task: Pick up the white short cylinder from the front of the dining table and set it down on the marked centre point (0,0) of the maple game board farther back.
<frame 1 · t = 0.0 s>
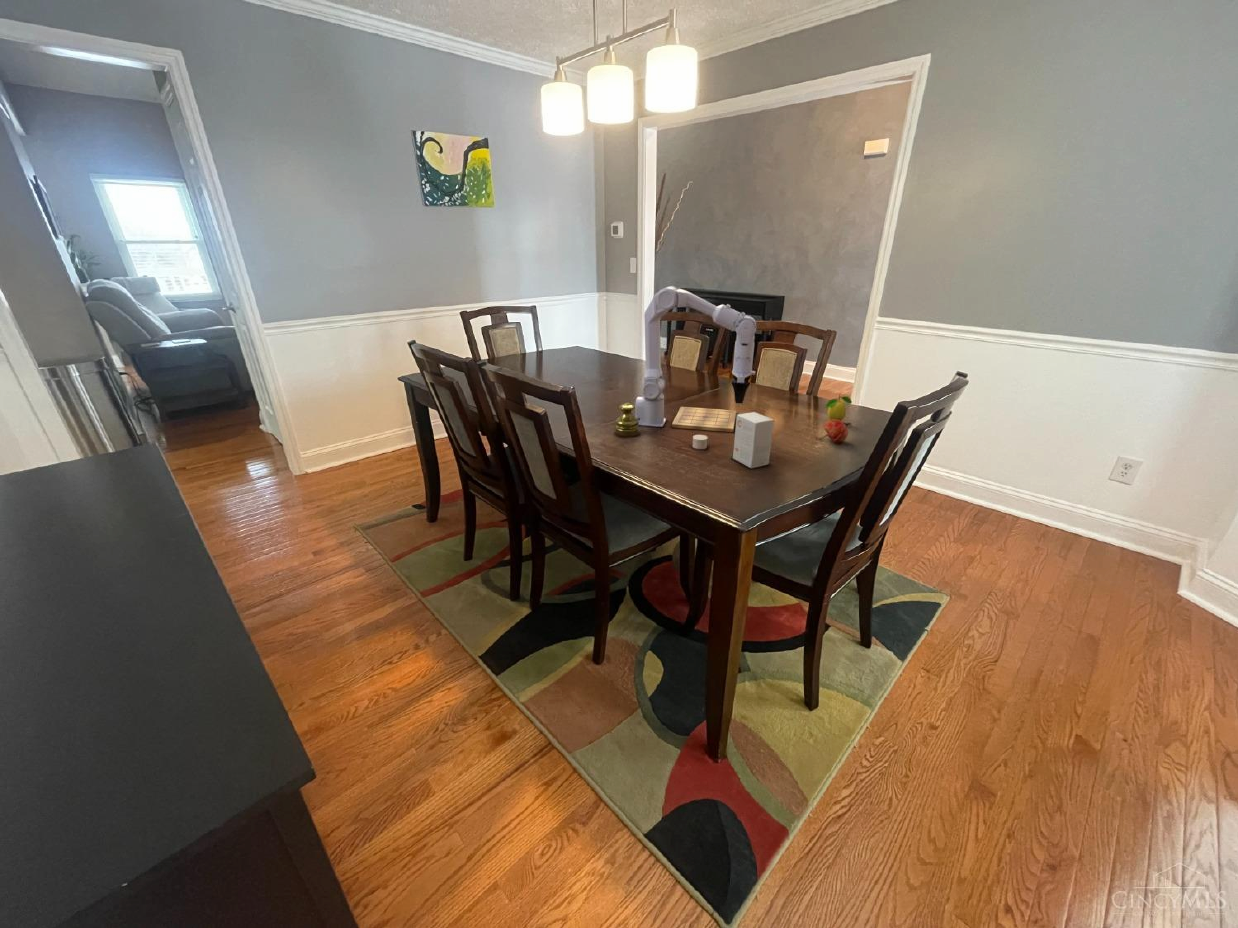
hand: (739, 399, 157), 10 cm above the table, tool pointing down, fingers open, 7 cm apart
gold chess pawn: (627, 433, 158), on the table
small box: (750, 462, 137), on the table
white short cylinder: (699, 446, 147), on the table
yellow pear: (835, 423, 166), on the table
board: (705, 420, 170), on the table
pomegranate: (832, 442, 150), on the table
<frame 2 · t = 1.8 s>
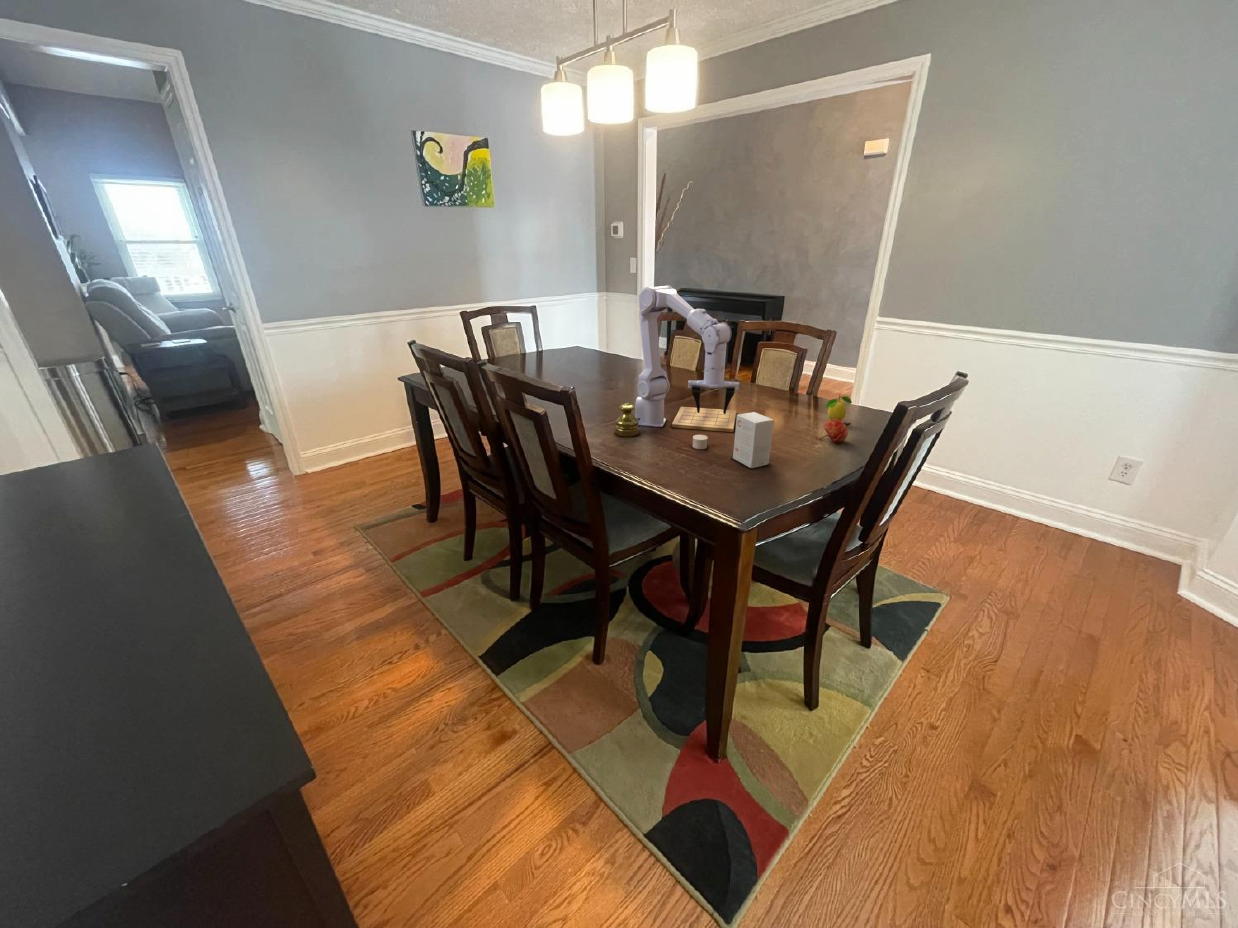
hand: (711, 412, 147), 10 cm above the table, tool pointing down, fingers open, 7 cm apart
nothing on the table moved.
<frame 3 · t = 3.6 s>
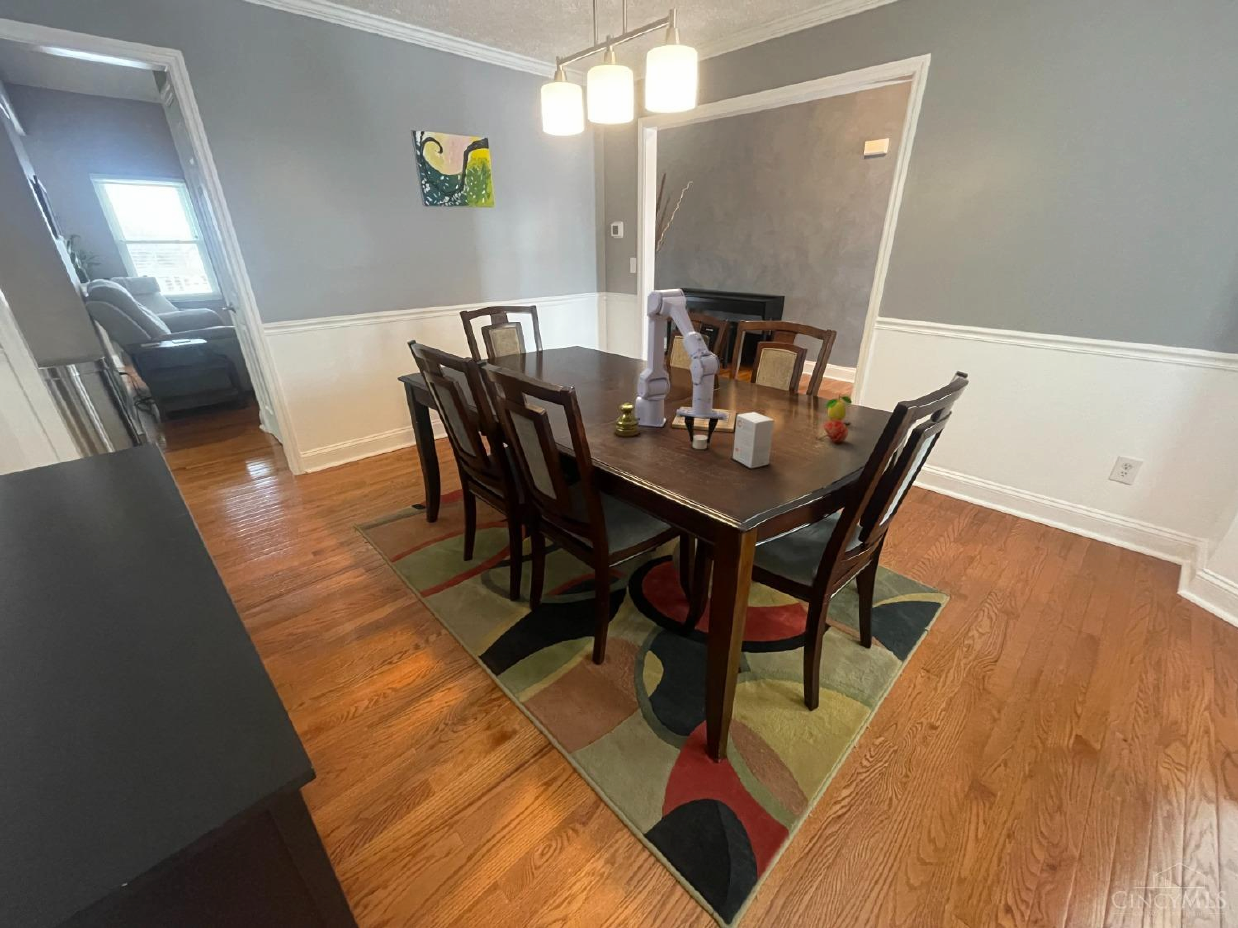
hand: (700, 441, 147), 2 cm above the table, tool pointing down, fingers closed on white short cylinder, 4 cm apart
white short cylinder: (699, 446, 147), on the table, touching gripper
everything else where it was.
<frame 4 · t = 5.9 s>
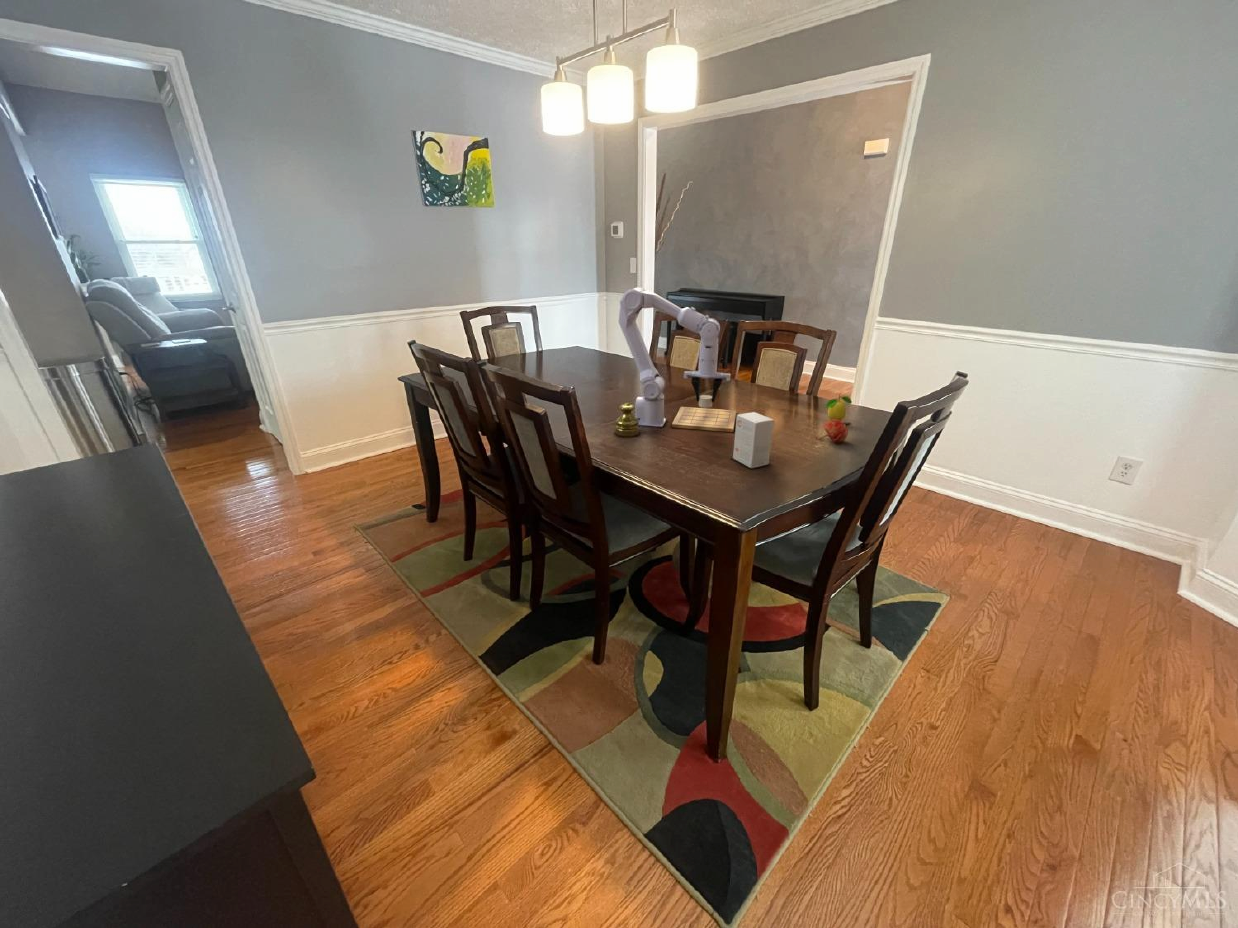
hand: (705, 401, 160), 9 cm above the table, tool pointing down, fingers closed on white short cylinder, 4 cm apart
white short cylinder: (705, 405, 160), point 7 cm above the table, touching gripper
everything else where it was.
when the fingers open (3 cm above the table, at t = 8.3 s): white short cylinder stays where it is, resting on board.
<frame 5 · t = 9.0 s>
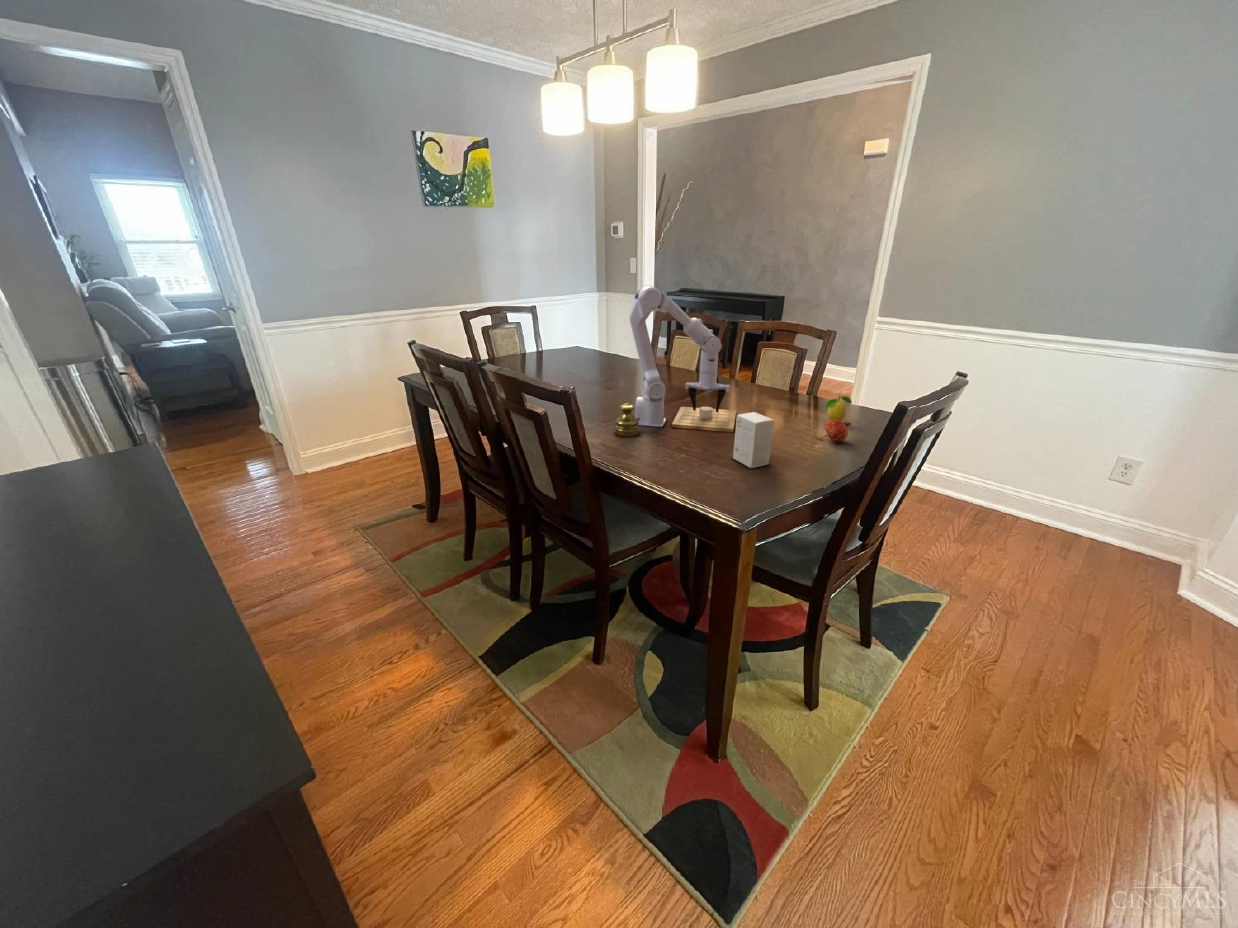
hand: (705, 410, 168), 3 cm above the table, tool pointing down, fingers open, 7 cm apart
white short cylinder: (705, 416, 169), point 1 cm above the table, touching board
everything else where it was.
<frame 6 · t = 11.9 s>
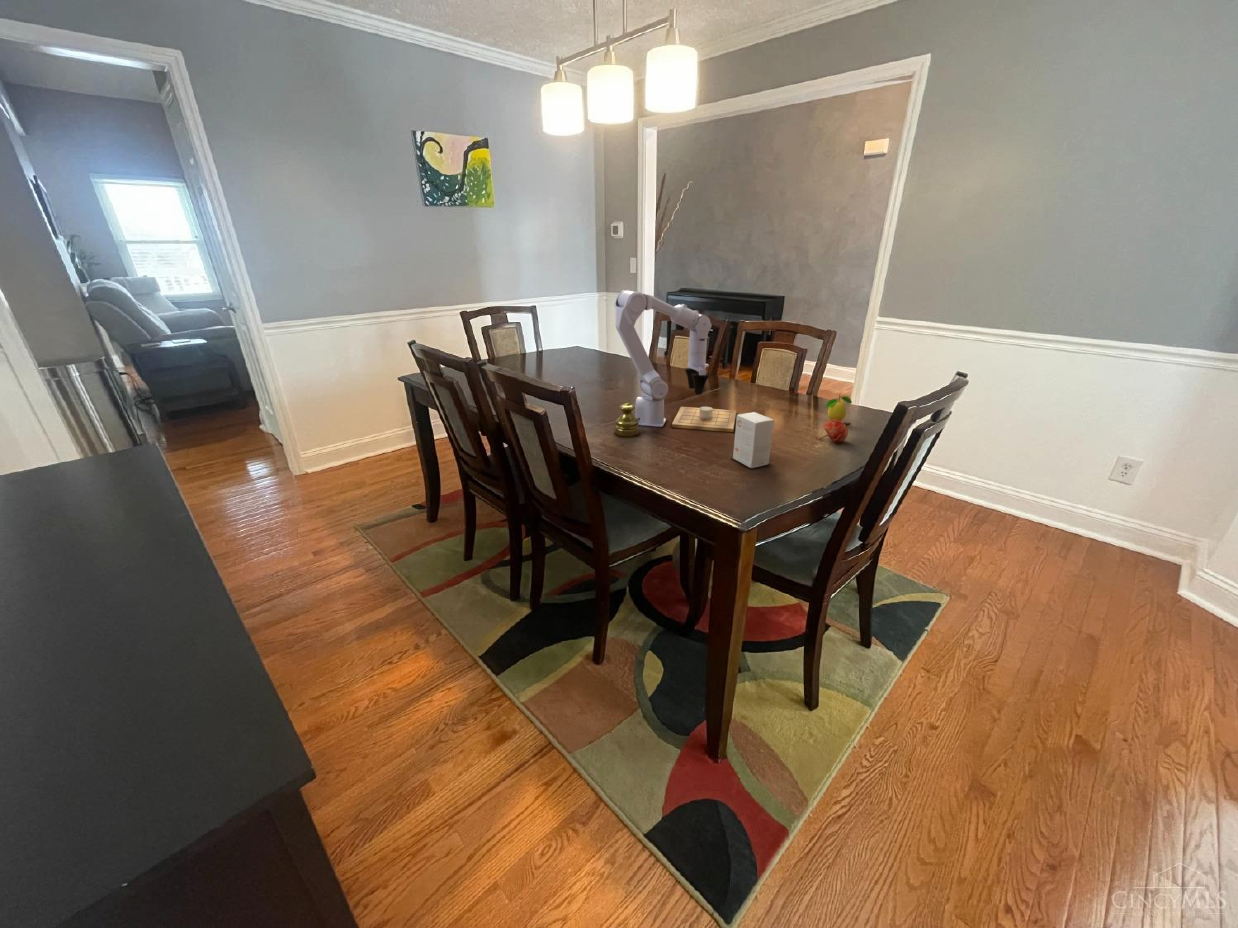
hand: (695, 391, 169), 9 cm above the table, tool pointing down, fingers open, 7 cm apart
nothing on the table moved.
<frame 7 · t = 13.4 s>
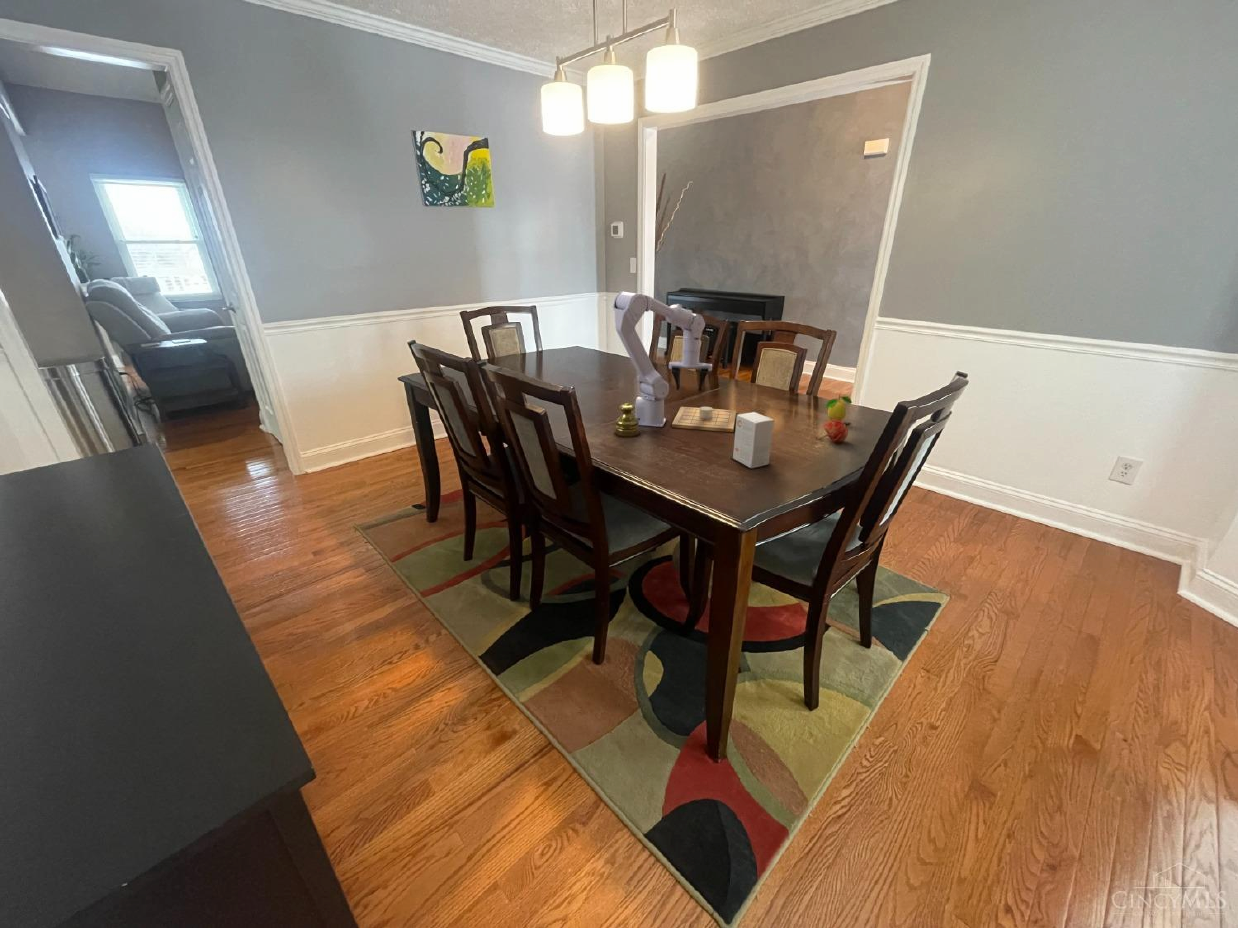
hand: (689, 389, 171), 9 cm above the table, tool pointing down, fingers open, 7 cm apart
nothing on the table moved.
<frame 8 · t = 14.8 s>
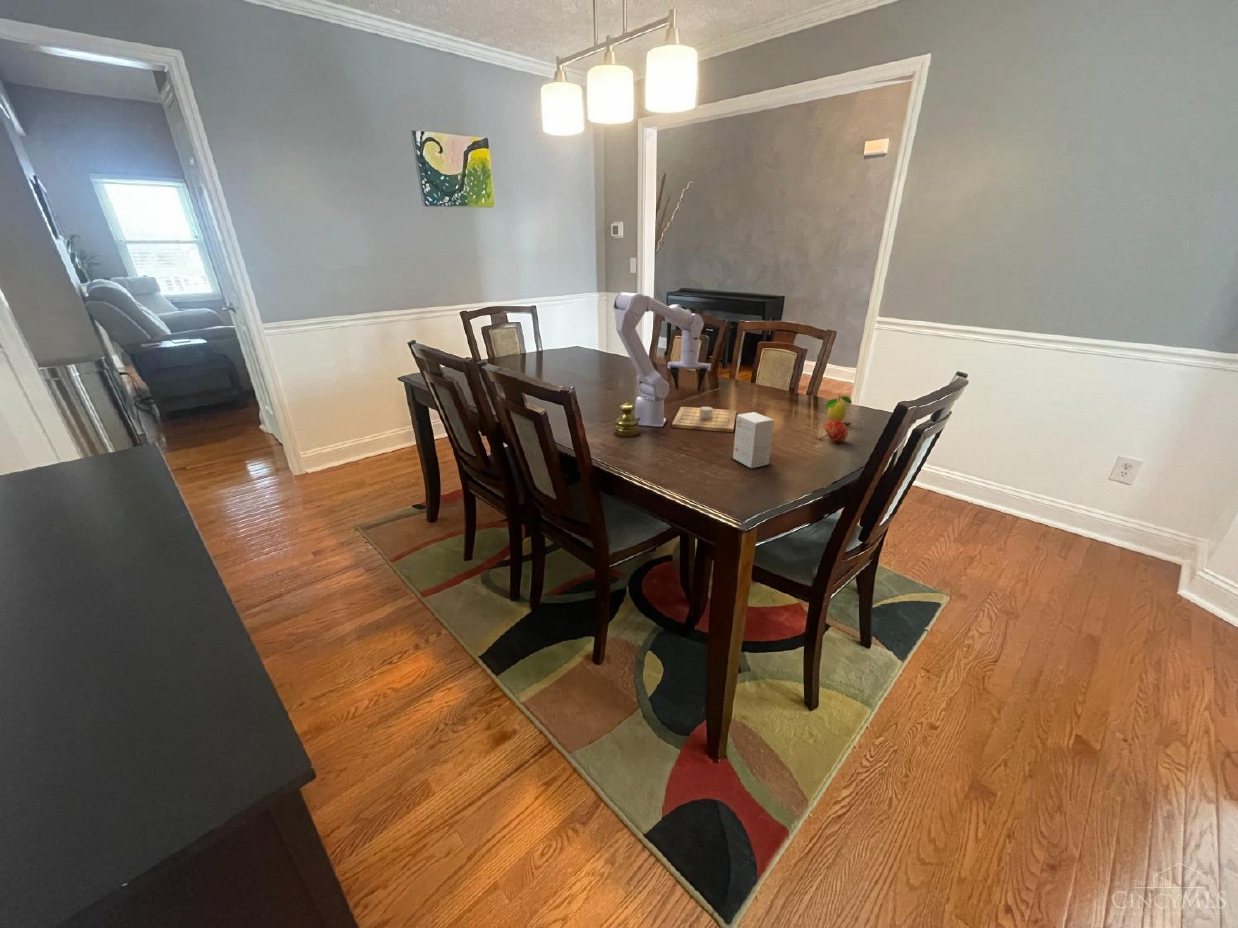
hand: (687, 389, 171), 9 cm above the table, tool pointing down, fingers open, 7 cm apart
nothing on the table moved.
at the end: white short cylinder 0.1 cm off-centre on the board, point 1.3 cm above the board's base; white short cylinder tilted 0°; the gripper is holding nothing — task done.
